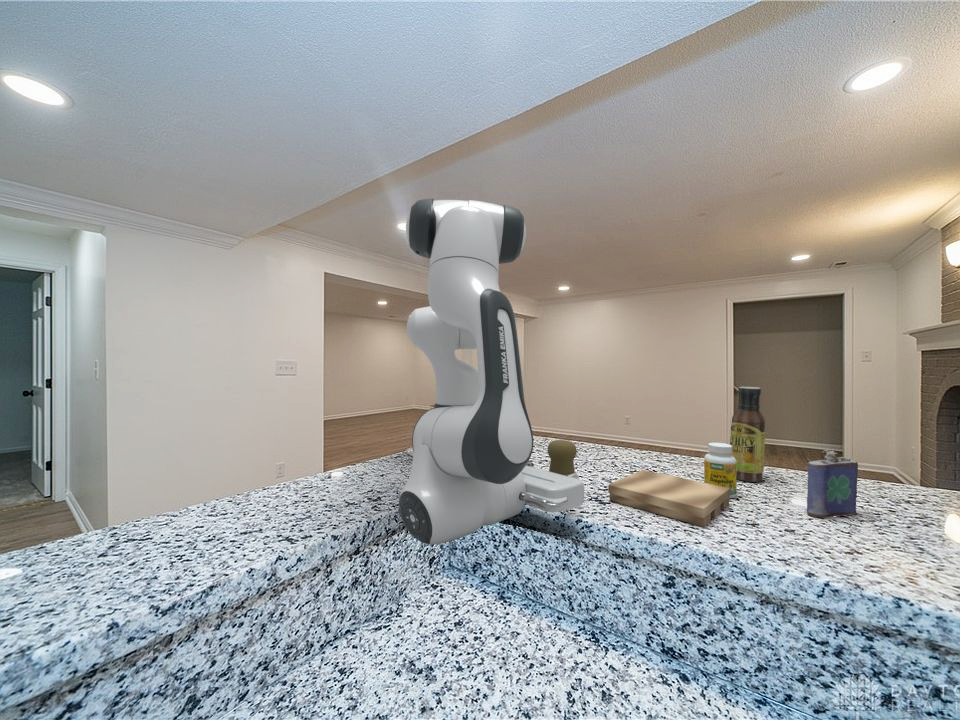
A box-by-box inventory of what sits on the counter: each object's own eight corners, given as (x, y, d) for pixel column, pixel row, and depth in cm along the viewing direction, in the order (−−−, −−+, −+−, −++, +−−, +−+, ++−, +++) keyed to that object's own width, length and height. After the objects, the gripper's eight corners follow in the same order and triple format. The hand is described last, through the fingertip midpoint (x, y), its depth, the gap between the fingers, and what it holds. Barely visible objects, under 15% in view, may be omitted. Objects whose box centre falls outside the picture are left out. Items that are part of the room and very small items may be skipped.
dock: (608, 501, 75) (608, 484, 75) (642, 484, 84) (642, 469, 84) (703, 528, 63) (703, 508, 63) (729, 504, 73) (730, 488, 73)
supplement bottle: (732, 491, 80) (733, 442, 80) (739, 500, 75) (740, 448, 75) (701, 488, 82) (702, 440, 82) (706, 497, 77) (706, 446, 77)
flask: (817, 519, 67) (818, 454, 67) (799, 512, 70) (800, 449, 69) (861, 515, 69) (862, 451, 68) (842, 508, 71) (843, 447, 71)
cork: (582, 507, 72) (582, 444, 71) (547, 506, 72) (547, 444, 72) (574, 495, 78) (575, 437, 78) (542, 494, 78) (543, 437, 78)
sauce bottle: (722, 476, 90) (723, 386, 89) (740, 473, 92) (741, 385, 92) (752, 485, 84) (754, 388, 84) (771, 481, 87) (772, 387, 86)
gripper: (553, 485, 56) (604, 466, 65) (455, 457, 70) (509, 444, 80) (552, 531, 56) (604, 505, 65) (455, 493, 70) (509, 476, 80)
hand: (551, 471), depth 73 cm, fingers open, 8 cm apart
